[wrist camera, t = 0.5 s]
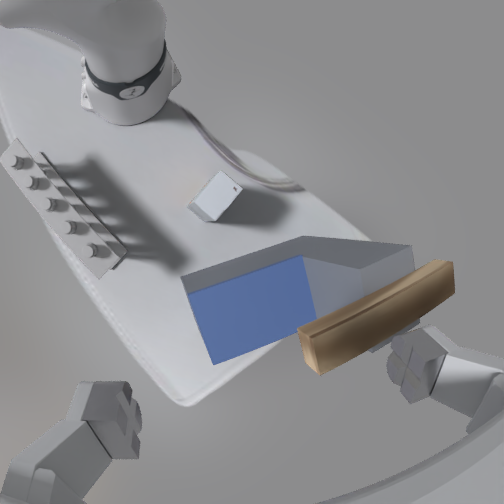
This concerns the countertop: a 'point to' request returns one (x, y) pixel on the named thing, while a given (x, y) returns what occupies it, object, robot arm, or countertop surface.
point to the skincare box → (215, 197)
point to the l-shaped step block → (288, 289)
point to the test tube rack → (63, 209)
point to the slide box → (375, 316)
